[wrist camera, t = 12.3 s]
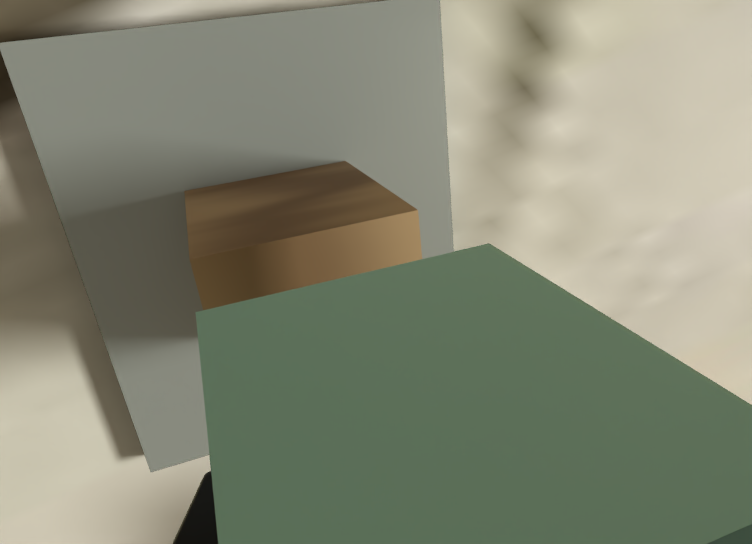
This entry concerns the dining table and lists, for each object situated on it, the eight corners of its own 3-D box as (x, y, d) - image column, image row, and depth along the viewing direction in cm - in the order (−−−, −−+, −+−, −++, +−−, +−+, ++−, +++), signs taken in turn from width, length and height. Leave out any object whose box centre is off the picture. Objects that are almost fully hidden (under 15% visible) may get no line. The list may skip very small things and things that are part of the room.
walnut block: (345, 161, 18) (418, 210, 13) (364, 300, 20) (433, 392, 15) (184, 190, 17) (189, 259, 11) (221, 336, 19) (240, 451, 13)
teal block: (489, 243, 10) (863, 475, 4) (494, 464, 12) (756, 802, 7) (195, 311, 8) (239, 749, 3) (257, 546, 10) (345, 1051, 5)
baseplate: (426, -3, 18) (439, -6, 17) (449, 366, 23) (460, 379, 23) (8, 43, 15) (-3, 42, 14) (151, 454, 20) (150, 472, 20)
